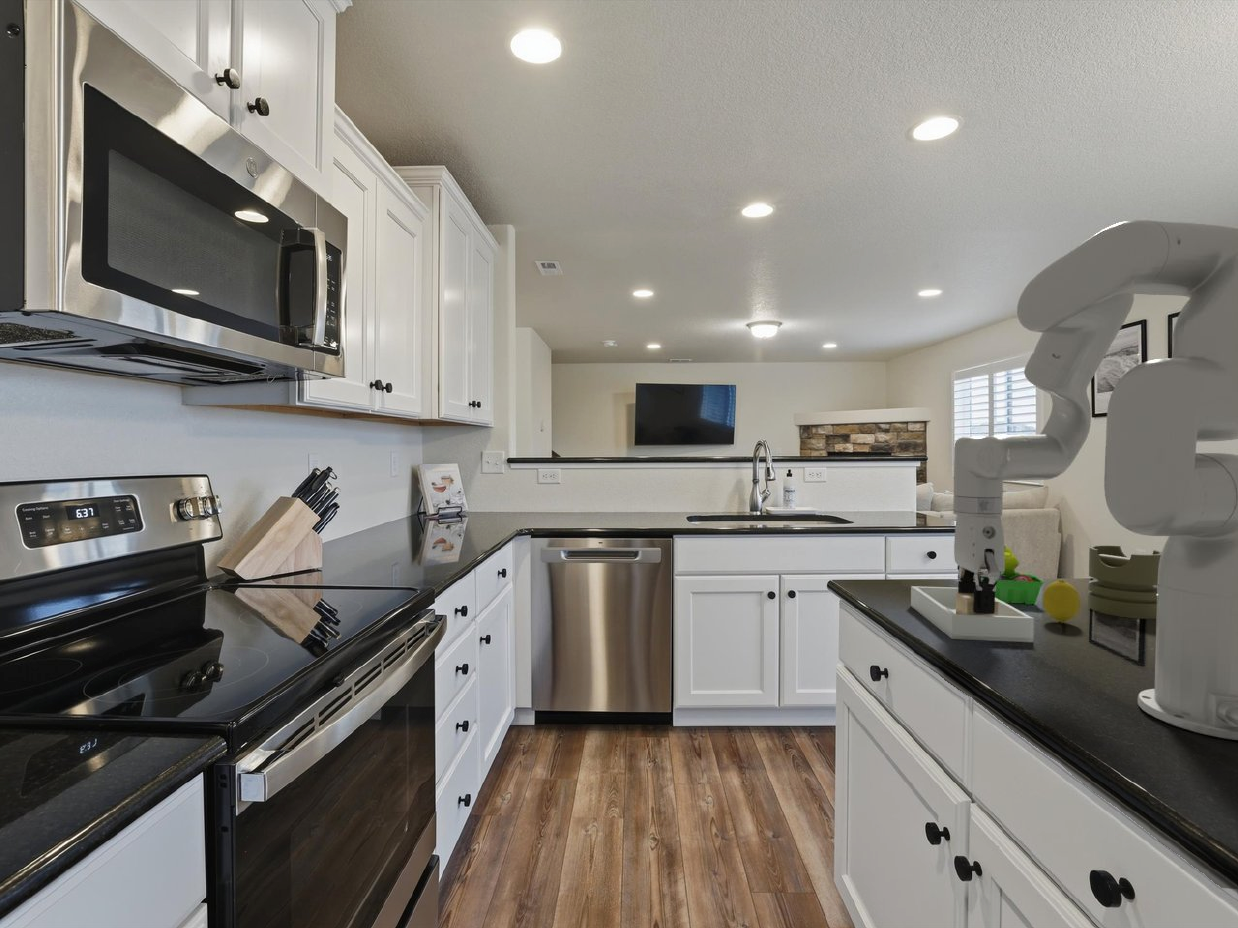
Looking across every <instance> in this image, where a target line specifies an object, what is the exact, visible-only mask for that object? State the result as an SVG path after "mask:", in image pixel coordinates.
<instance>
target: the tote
mask: <svg viewBox="0 0 1238 928" xmlns="http://www.w3.org/2000/svg"><path fill="white" fill-rule="evenodd" d="M910 588H911V589H910V606H911V608H913V609H914V610H915V611H917V612H918V613H919V614H920V615H922V616H923V617H924V618H925V619H927V620H928V621H929V622H930V623H931V624H933V625H934V626H935V627H936V628H937V629H939V630H940V631H941V632H943V633H944V634H945V635H946V636H948V637H949V638H950V639H951V640H967V641H968V640H971V641H972V640H973V641H991V642H993V641H994V642H1015V643H1016V642H1019V643H1034V631H1035V630H1034V629H1035V628H1034V625H1035V624H1034V622H1035V619H1034V617H1032V616H1030V615H1028V614H1027V613H1025V612H1023V611H1021V610H1019V609H1018V608H1015V607H1014V606H1012V605H1010V604H1009V603H1005V602H1003V601H1001V600H999V599H997V598H995V600H996V601H998V602H999V603H998V616H991V615H963V614H956V593H958V587H951V586H950V587H947V586H946V587H944V586H942V587H941V586H913V585H911V587H910Z"/></svg>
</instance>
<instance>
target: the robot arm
mask: <svg viewBox="0 0 1238 928" xmlns="http://www.w3.org/2000/svg"><path fill="white" fill-rule="evenodd" d="M1134 295H1148V296H1149V295H1150V296H1151V295H1153V296H1155V295H1156V296H1177V297H1178V296H1179V297H1180V296H1182V297H1187V298H1189V299H1188V300H1187V301H1186V303H1185V304H1184V306H1182V309H1181V311H1180V312H1179V314H1178V316H1177V319H1176V321H1175V324H1174V327H1173V333H1172V343H1173V344H1172V354H1171V355H1172V356H1171V358H1166V357H1164V358H1157V359H1152V360H1147V361H1144V362H1141V363H1140V364H1137V365H1135V366H1133V367H1132V368H1130V369H1129V370H1128V371H1127V372H1125V373H1124V374H1123V375H1122V376H1121V377H1120V378H1119V379H1118V382H1117V383H1116V384H1115V386H1114V388H1113V390H1112V392H1111V394H1110V397H1109V401H1108V403H1107V404H1108V405H1107V411H1106V412H1107V413H1106V430H1105V453H1104V455H1105V456H1104V478H1103V479H1104V481H1103V484H1104V485H1103V487H1104V497H1105V502H1106V505H1107V508H1108V510H1109V513H1110V514H1111V516H1112V517H1113V519H1114V520H1115V521H1116V522H1117V523H1118V524H1119V525H1121V527H1123V528H1125V529H1126V530H1128V531H1130V532H1132V533H1134V534H1137V535H1143V536H1147V537H1148V536H1149V537H1150V536H1151V537H1167V538H1166V539H1167V540H1166V542H1165V544H1164V546H1163V548H1162V550H1161V552H1162V553H1161V557H1160V561H1159V567H1158V585H1156V587H1157V616H1156V619H1155V621H1156V622H1155V632H1156V633H1155V657H1154V658H1155V660H1154V661H1155V662H1154V688H1151V689H1150V688H1149V689H1144V690H1142V691H1140V692H1139V693H1138V694H1137V704H1138V706H1139V708H1141V710H1143V711H1144V712H1146V714H1148V715H1150V716H1152V717H1154V718H1155V719H1157V720H1160V721H1162V722H1163V723H1164V722H1165V723H1166V724H1169V725H1171V726H1175V727H1177V728H1181V729H1185V730H1187V731H1190V732H1194V733H1198V734H1201V735H1202V734H1203V735H1206V736H1211V737H1215V738H1220V739H1227V740H1231V741H1232V740H1233V741H1238V454H1234V453H1225V452H1224V453H1223V452H1222V453H1221V452H1196V451H1197V443H1198V442H1200V443H1202V442H1223V441H1224V442H1226V441H1233V440H1234V441H1235V440H1238V228H1235V227H1231V226H1223V225H1215V224H1214V225H1213V224H1206V223H1204V224H1203V223H1195V222H1194V223H1193V222H1172V221H1159V220H1150V219H1149V220H1147V219H1146V220H1144V219H1136V220H1135V219H1134V220H1133V219H1132V220H1127V221H1121V222H1118V223H1116V224H1113V225H1110V226H1109V227H1106V228H1103V229H1102V230H1100V231H1099V232H1097V233H1096V234H1094V235H1092V236H1091V237H1089V238H1088V239H1086V240H1085V241H1083V242H1082V243H1080V244H1079V245H1078V246H1076V247H1074V248H1073V249H1071V250H1070V251H1069V252H1067V253H1066V254H1064V255H1062V256H1060V257H1059V258H1058V259H1056V260H1055V261H1053V262H1052V263H1050V264H1049V265H1047V266H1046V267H1045V268H1044V269H1042V270H1041V271H1040V272H1039V273H1038V274H1036V275H1035V276H1034V277H1033V278H1032V279H1031V280H1030V281H1029V282H1028V284H1027V285H1026V286H1025V287H1024V289H1023V291H1022V293H1021V294H1020V297H1019V299H1018V302H1017V307H1016V308H1017V309H1016V310H1017V312H1016V314H1017V319H1018V321H1019V323H1020V324H1021V326H1022V327H1023V328H1025V329H1027V330H1028V331H1031V332H1035V333H1041V335H1040V337H1039V340H1038V341H1037V343H1036V345H1035V347H1034V349H1033V351H1032V353H1031V355H1030V357H1029V359H1028V361H1027V363H1026V365H1025V367H1024V369H1023V370H1024V372H1023V374H1024V376H1025V378H1026V380H1027V381H1028V382H1029V383H1030V384H1031V385H1033V386H1035V387H1036V388H1038V389H1039V390H1042V391H1043V392H1045V393H1047V394H1049V395H1050V398H1051V401H1052V403H1051V405H1052V407H1051V412H1050V415H1049V416H1048V420H1047V421H1046V423H1045V425H1044V426H1043V428H1042V431H1041V432H1040V434H995V435H989V436H964V437H963V436H962V437H959V438H958V439H956V441H955V443H954V448H953V449H954V451H953V453H954V454H953V502H952V503H953V510H952V514H953V515H956V519H955V527H954V544H953V548H954V549H953V550H954V551H953V552H954V555H953V557H954V562H955V564H957V566H956V567H957V568H956V569H957V570H958V571H957V572H958V573H957V580H958V581H957V583H958V584H957V588H958V593H974V606H973V611H974V612H975V613H979V614H994V613H995V591H996V584H997V580H998V578H999V577H1000V574H1002V573H1004V571H1005V555H1004V545H1005V537H1004V528H1003V527H1004V526H1003V521H1002V518H1001V517H1003V503H1004V502H1003V498H1004V497H1003V496H1004V495H1003V494H1004V493H1003V491H1004V490H1003V489H1004V482H1005V481H1007V482H1008V481H1009V482H1011V481H1014V482H1015V481H1046V480H1053V479H1054V478H1057V477H1059V476H1060V475H1062V474H1064V473H1065V471H1067V470H1068V469H1069V467H1070V466H1071V465H1072V464H1073V462H1074V461H1075V459H1076V457H1077V456H1078V454H1079V452H1080V451H1081V449H1082V447H1083V446H1084V445H1085V442H1086V440H1087V438H1088V436H1089V433H1090V430H1091V423H1092V422H1091V420H1092V419H1091V418H1092V417H1091V415H1092V414H1091V413H1092V411H1091V409H1092V408H1091V403H1090V399H1089V396H1088V392H1087V390H1088V386H1089V385H1090V383H1091V380H1092V379H1093V378H1094V376H1095V374H1096V372H1097V371H1098V369H1099V367H1100V365H1101V363H1102V362H1103V360H1104V358H1105V356H1106V354H1107V353H1108V351H1109V349H1110V347H1111V346H1112V344H1113V343H1114V341H1115V339H1116V337H1117V335H1118V334H1119V332H1120V330H1121V328H1122V327H1123V325H1124V323H1125V321H1126V319H1127V318H1128V315H1129V314H1130V312H1131V310H1132V307H1133V304H1134V299H1135V296H1134ZM982 570H987V572H986V571H982ZM981 576H987V577H984V578H983V580H982V582H981Z"/></svg>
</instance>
